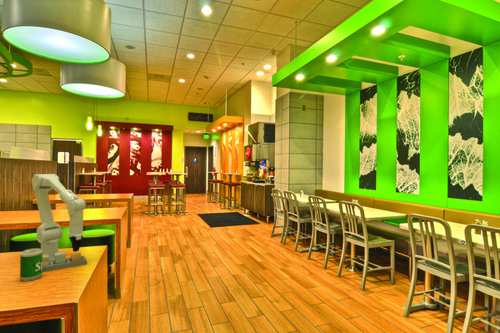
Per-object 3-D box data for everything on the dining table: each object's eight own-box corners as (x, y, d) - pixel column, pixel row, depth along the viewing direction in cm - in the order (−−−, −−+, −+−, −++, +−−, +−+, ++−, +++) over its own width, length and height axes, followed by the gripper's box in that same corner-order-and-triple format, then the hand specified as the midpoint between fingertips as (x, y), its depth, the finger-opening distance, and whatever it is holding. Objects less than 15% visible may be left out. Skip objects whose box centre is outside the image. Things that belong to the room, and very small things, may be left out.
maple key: (37, 264, 129) (37, 256, 129) (48, 262, 132) (48, 254, 132) (38, 267, 126) (38, 258, 126) (48, 265, 129) (48, 256, 129)
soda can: (30, 282, 115) (30, 253, 115) (15, 280, 116) (15, 252, 116) (46, 275, 122) (47, 248, 122) (32, 274, 124) (32, 247, 124)
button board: (31, 269, 129) (31, 264, 129) (83, 259, 143) (83, 255, 143) (32, 274, 123) (32, 269, 123) (86, 264, 137) (86, 259, 137)
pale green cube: (54, 261, 133) (54, 253, 133) (64, 259, 136) (64, 251, 136) (55, 264, 130) (55, 255, 130) (65, 262, 133) (65, 253, 133)
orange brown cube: (70, 262, 138) (70, 254, 138) (79, 260, 140) (80, 252, 140) (71, 264, 134) (71, 256, 134) (81, 262, 137) (81, 254, 137)
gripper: (64, 222, 140) (64, 249, 140) (68, 227, 129) (68, 256, 129) (80, 220, 145) (80, 246, 145) (86, 225, 134) (85, 253, 134)
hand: (75, 251), depth 137 cm, fingers closed
